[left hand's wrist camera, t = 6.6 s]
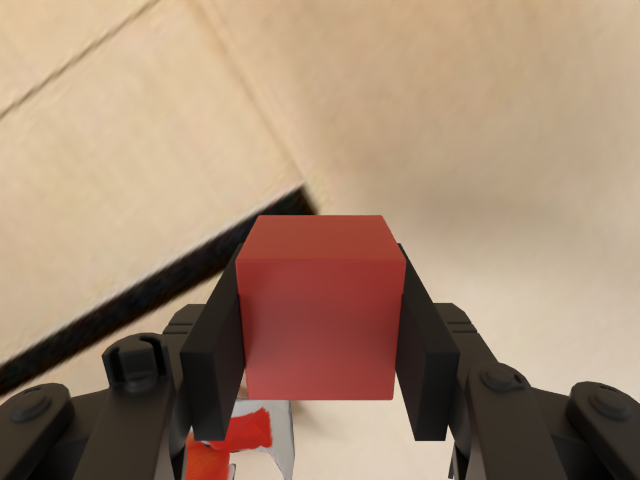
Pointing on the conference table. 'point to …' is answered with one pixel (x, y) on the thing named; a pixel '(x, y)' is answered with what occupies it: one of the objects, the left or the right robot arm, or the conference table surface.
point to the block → (320, 307)
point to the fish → (245, 440)
